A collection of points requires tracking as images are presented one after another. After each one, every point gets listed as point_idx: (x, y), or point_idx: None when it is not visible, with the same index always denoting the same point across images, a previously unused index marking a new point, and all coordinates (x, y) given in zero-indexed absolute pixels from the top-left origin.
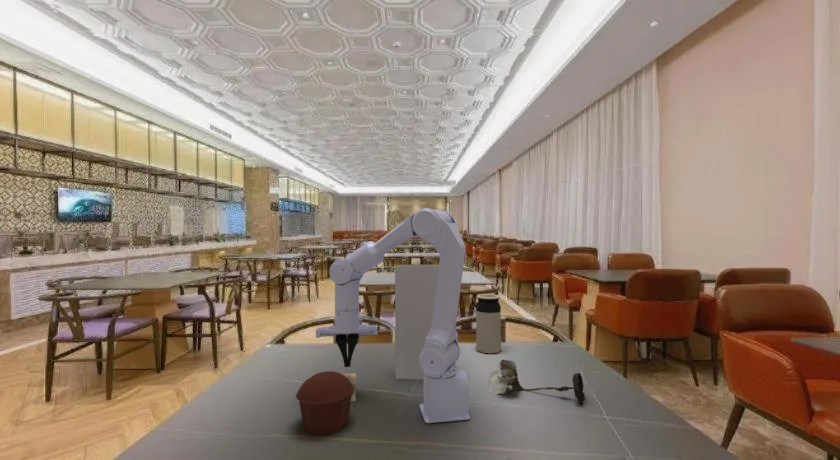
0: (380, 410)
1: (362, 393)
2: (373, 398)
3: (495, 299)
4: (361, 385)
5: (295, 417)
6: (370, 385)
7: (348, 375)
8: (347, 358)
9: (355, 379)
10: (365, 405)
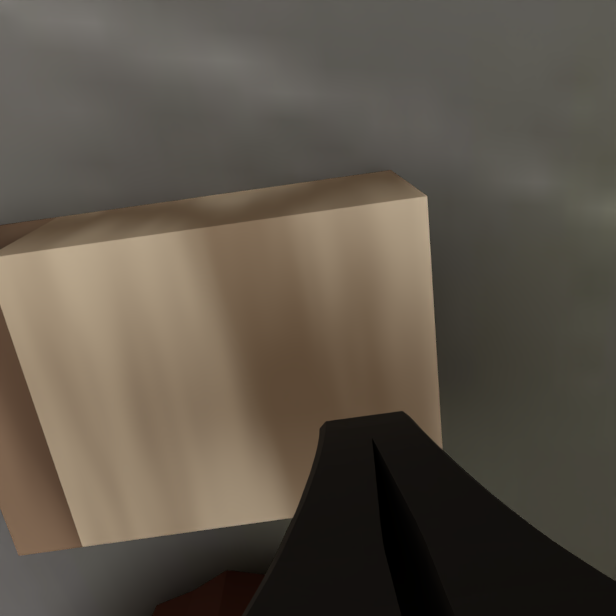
0: (584, 537)
1: (459, 275)
2: (549, 370)
3: None
4: (444, 82)
5: (44, 611)
6: (537, 87)
7: (343, 270)
8: (373, 454)
9: (437, 388)
10: (486, 474)
